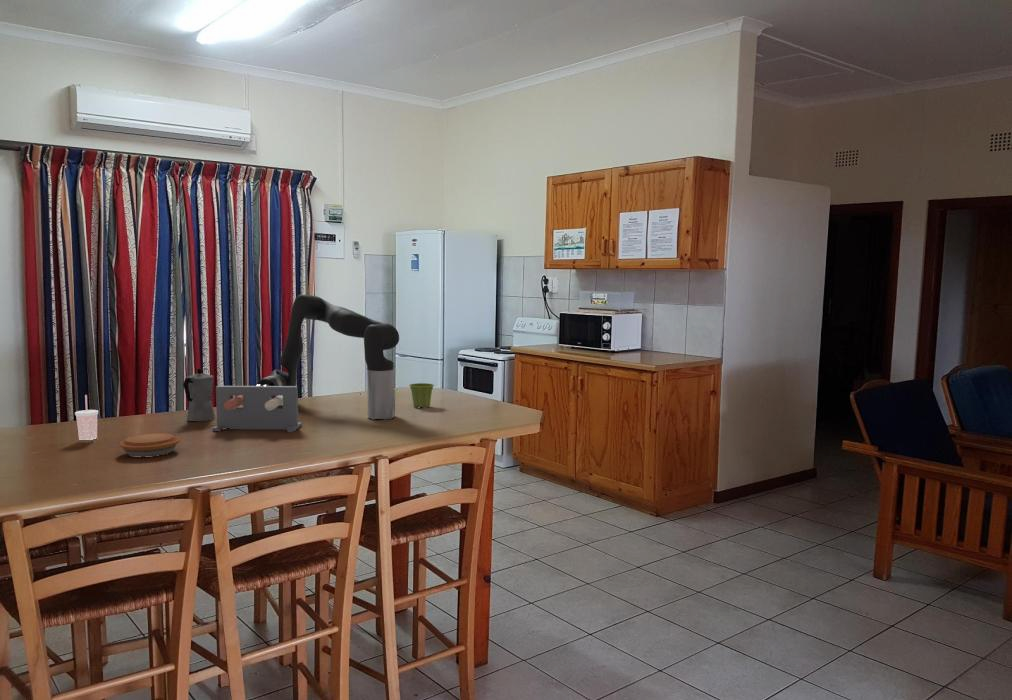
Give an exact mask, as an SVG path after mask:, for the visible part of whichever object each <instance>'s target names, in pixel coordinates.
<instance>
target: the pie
mask: <svg viewBox="0 0 1012 700" xmlns="http://www.w3.org/2000/svg"><path fill="white" fill-rule="evenodd" d="M180 440H181V438H180V437H179V436H177V435H174V434H173V433H164V432H162V433H161V432H160V433H159V432H154V433H143V434H137V435H132V436H129V437H126V438H125V439H124V440H121V441H120V442H119V446H120V447H121V448H122V449H123V451H124V452H125V454H126V455H127V454H128V455H131V456H141V457H145V456H157V455H163V454H167V453H170V452H171V453H173V451H174V449H175V448H176V446H177V445H178V444H179V443H180ZM171 453H170V454H171ZM128 455H127V456H128ZM167 455H168V454H167Z"/></svg>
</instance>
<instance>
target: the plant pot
mask: <svg viewBox="0 0 1012 700" xmlns="http://www.w3.org/2000/svg"><path fill="white" fill-rule="evenodd" d="M408 386H409V388H410V390H411V396H412V403H413V408H417V407H426V408H430V407H429V406H431V399H432V393H433V392H432V391H433V388H434V386H435V384H433V383H425V382H424V383H422V382H421V383H420V382H419V383H410V384H408Z"/></svg>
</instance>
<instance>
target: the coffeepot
mask: <svg viewBox="0 0 1012 700" xmlns="http://www.w3.org/2000/svg"><path fill="white" fill-rule="evenodd" d="M196 371H197V373H195V374H192V375H191V374H190V375H188V376H186V377H185V378H184V381H183V383H182V384H183V385H182V386H183V389H184V393H185V397H186V399H187V402H189V403H188V410H187V418H186V421H188V420H189V421H188V422H190V421H205V422H207V421H206V420H211V419H214V418H216V414H215V411H214V406H213V401H212V393H213V389H214V387H213V386H214V379H215V376H214V375H212V374H207V373H206V374H205V373H202V372H203V368H197V369H196ZM214 420H215V419H214ZM211 421H212V420H211Z"/></svg>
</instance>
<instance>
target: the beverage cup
mask: <svg viewBox="0 0 1012 700" xmlns="http://www.w3.org/2000/svg"><path fill="white" fill-rule="evenodd" d="M84 398H85V399H84V401H85V410H83V409H82V410H76V411H75V412H74V416H76V417H75V418H76V425H77V431H78V432H77V433H78V441H79V440H93V439H96V438H97V439H98V414H99V410H97V409H88V395H87V394H85V395H84Z"/></svg>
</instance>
